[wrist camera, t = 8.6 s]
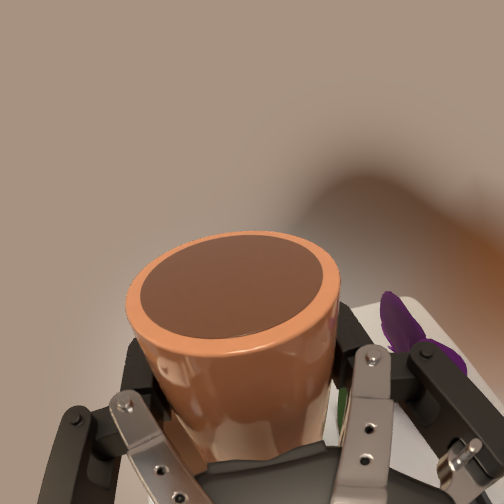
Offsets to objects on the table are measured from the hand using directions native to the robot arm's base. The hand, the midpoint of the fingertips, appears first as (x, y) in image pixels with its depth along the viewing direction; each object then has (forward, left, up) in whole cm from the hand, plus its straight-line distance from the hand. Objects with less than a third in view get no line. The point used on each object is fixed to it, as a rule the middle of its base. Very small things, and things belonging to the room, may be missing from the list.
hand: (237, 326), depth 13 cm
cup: (-2, -2, -5) cm, 6 cm away
